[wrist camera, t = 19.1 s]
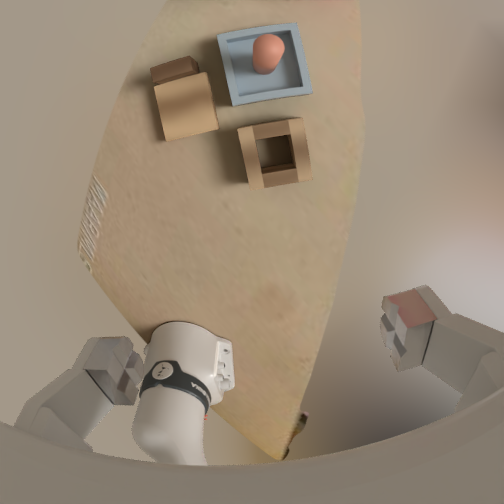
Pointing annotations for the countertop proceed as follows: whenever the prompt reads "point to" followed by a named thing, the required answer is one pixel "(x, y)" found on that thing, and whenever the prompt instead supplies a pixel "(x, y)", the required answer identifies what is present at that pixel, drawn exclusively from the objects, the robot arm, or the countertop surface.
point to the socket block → (279, 173)
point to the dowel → (267, 53)
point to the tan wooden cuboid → (186, 106)
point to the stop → (174, 70)
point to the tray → (257, 85)
